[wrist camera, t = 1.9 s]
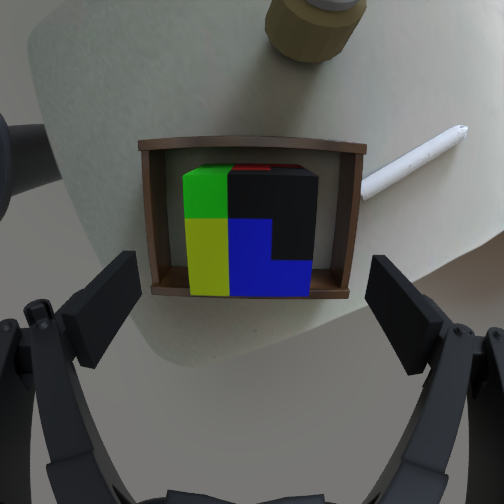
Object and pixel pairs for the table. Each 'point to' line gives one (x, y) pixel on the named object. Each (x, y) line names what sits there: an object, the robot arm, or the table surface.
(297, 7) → the squeeze bottle
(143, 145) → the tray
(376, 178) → the marker
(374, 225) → the table surface
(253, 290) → the puzzle toy
